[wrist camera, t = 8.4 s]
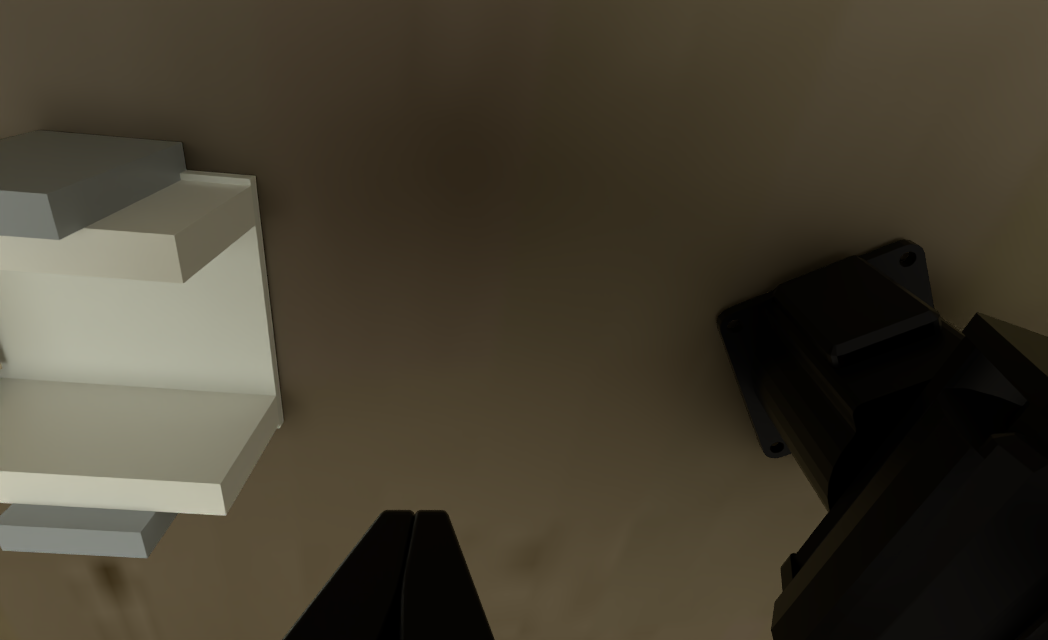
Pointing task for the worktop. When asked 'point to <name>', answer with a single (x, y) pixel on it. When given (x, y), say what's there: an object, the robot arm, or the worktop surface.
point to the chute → (127, 342)
